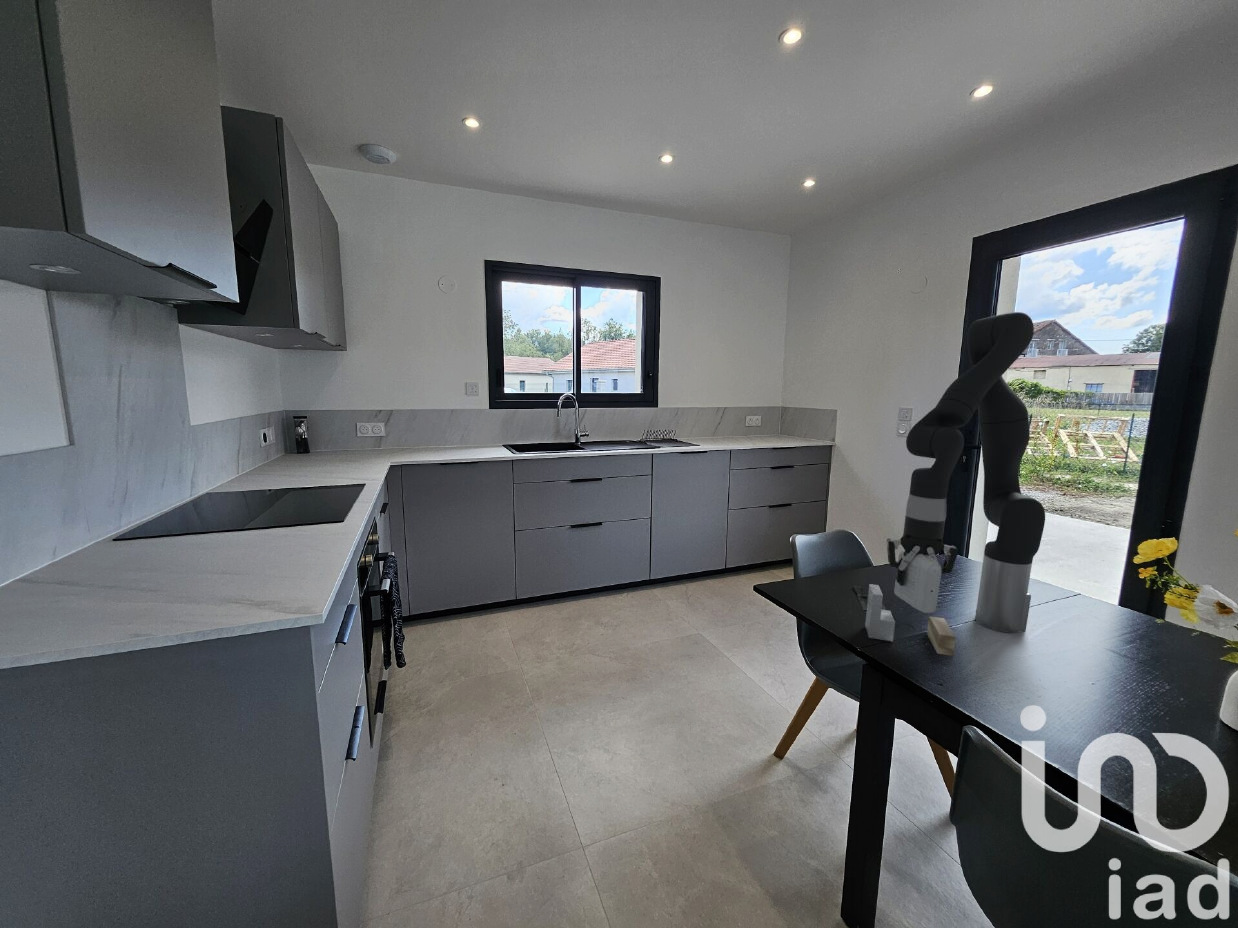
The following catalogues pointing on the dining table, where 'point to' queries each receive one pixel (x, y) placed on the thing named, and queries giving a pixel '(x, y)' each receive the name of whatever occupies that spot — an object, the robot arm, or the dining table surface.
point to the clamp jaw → (878, 616)
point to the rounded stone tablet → (920, 583)
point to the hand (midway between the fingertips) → (916, 586)
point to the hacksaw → (857, 590)
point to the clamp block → (941, 636)
